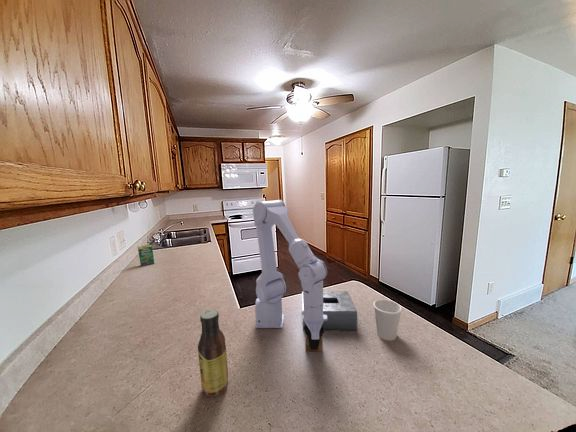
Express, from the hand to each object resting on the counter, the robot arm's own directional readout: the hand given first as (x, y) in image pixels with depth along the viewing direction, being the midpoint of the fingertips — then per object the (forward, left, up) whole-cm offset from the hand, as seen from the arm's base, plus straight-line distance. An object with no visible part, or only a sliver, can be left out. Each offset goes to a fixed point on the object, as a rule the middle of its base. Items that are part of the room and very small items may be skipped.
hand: (313, 345), depth 66 cm
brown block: (0, 0, -2) cm, 2 cm away
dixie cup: (+24, +7, -2) cm, 25 cm away
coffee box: (-105, +77, -2) cm, 130 cm away
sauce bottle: (-25, -13, -2) cm, 28 cm away
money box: (+6, +16, -1) cm, 17 cm away
